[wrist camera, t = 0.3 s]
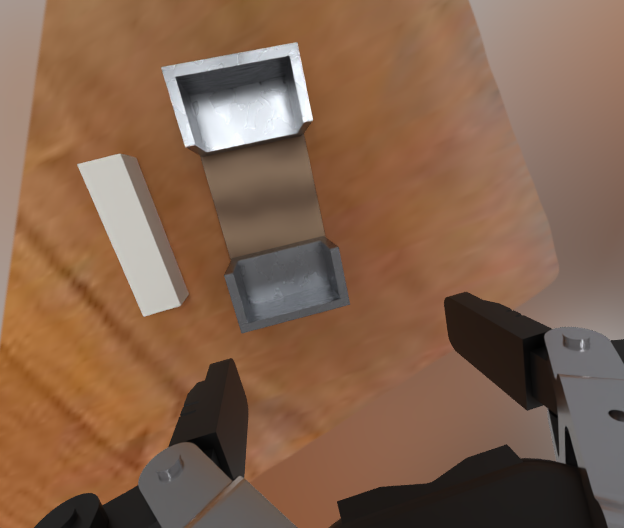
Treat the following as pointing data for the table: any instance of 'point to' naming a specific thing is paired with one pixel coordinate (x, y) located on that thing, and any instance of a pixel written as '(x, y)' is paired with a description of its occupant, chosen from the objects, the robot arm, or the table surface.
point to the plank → (264, 195)
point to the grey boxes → (250, 132)
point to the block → (135, 231)
